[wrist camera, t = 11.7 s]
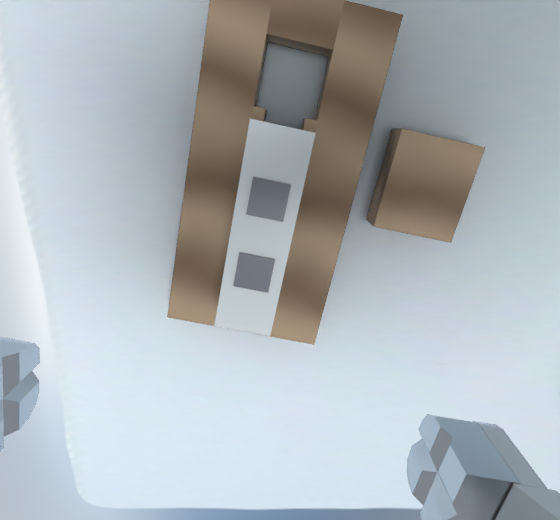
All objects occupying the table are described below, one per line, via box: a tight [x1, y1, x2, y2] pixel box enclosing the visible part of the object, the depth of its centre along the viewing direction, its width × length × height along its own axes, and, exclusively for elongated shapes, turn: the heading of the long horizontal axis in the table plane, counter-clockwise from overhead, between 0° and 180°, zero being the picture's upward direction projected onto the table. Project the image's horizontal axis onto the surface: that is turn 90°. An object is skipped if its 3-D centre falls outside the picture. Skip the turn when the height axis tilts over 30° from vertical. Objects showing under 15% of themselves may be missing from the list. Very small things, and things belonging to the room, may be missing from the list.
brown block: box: [367, 129, 485, 243], centre depth 29 cm, size 7×6×2 cm
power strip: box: [214, 119, 315, 336], centre depth 28 cm, size 14×4×6 cm, turn 168°
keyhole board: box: [167, 0, 403, 344], centre depth 29 cm, size 24×12×2 cm, turn 168°
